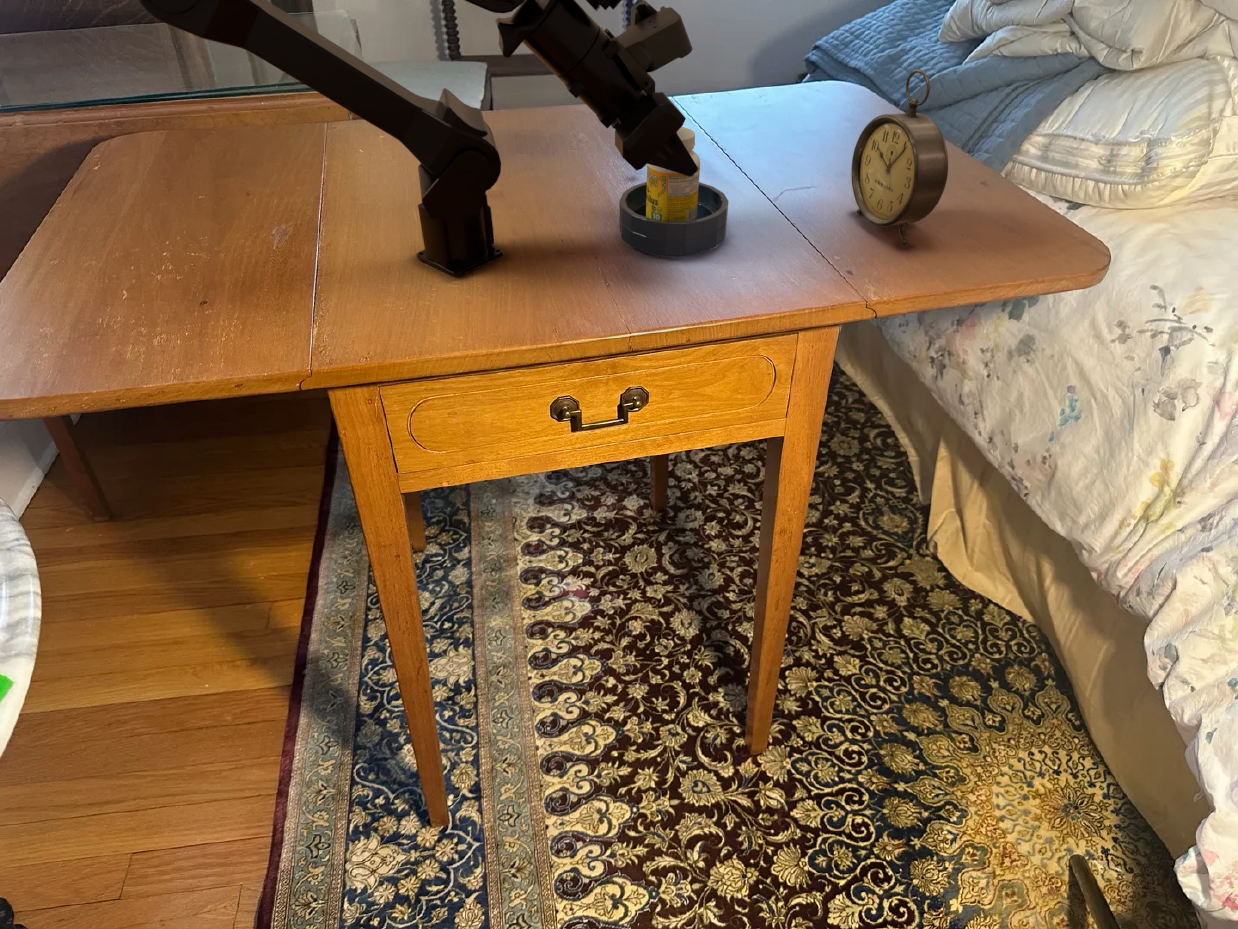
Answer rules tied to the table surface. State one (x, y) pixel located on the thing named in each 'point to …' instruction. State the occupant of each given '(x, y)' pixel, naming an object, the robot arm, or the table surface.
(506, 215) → the table surface
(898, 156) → the alarm clock
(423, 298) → the table surface
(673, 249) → the dark gray round dish
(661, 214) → the supplement bottle
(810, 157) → the table surface
